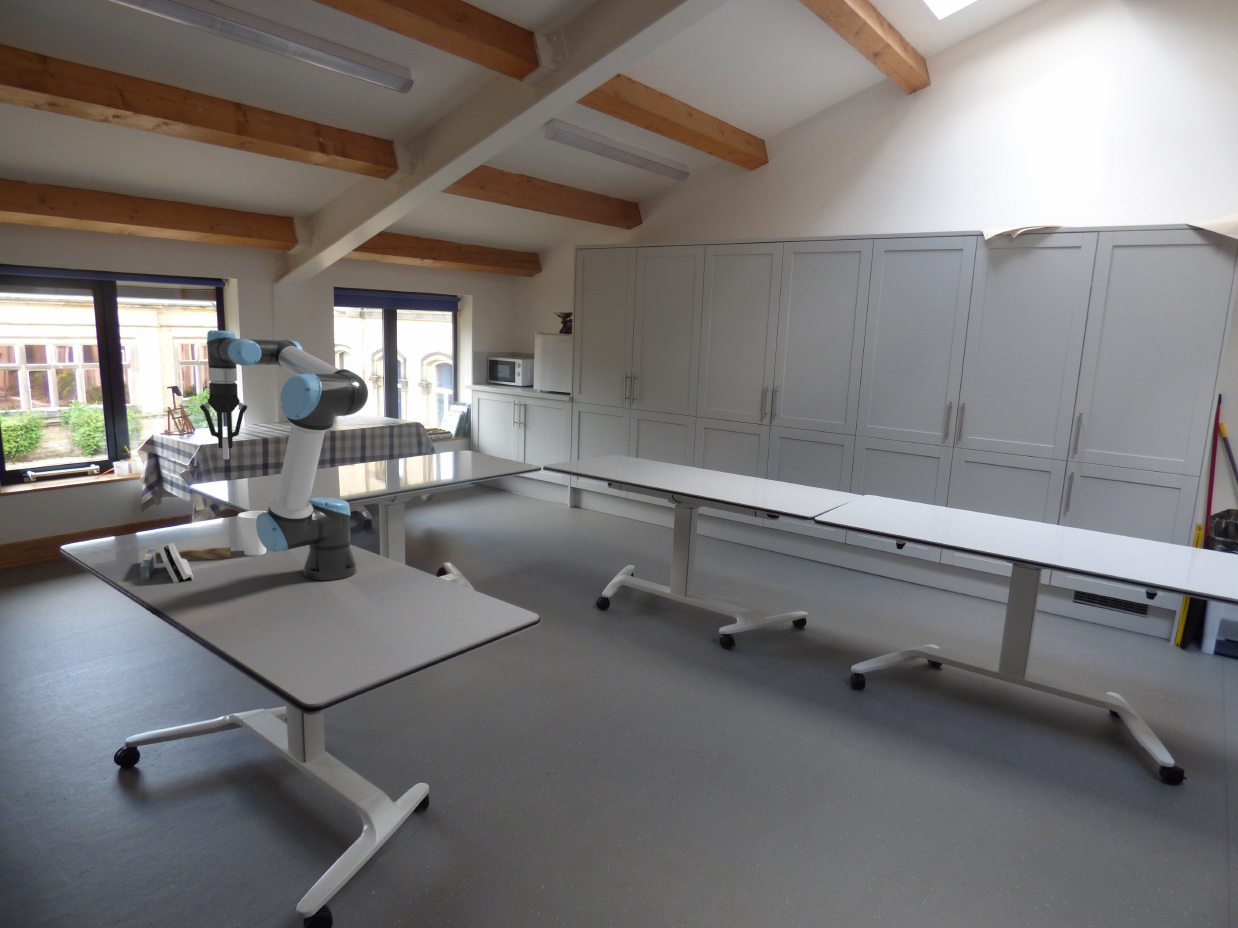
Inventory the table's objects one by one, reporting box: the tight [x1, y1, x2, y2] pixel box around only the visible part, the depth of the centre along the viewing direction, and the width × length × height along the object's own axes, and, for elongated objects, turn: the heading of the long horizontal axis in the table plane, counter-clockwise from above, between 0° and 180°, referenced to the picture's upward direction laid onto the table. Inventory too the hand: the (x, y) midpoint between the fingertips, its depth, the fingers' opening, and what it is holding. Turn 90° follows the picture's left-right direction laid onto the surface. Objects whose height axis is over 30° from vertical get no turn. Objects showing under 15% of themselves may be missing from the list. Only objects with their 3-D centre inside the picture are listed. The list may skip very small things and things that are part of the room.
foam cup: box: [237, 510, 267, 557], centre depth 233 cm, size 10×9×13 cm
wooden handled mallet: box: [139, 547, 232, 581], centre depth 217 cm, size 22×17×4 cm
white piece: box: [158, 542, 195, 584], centre depth 211 cm, size 17×5×10 cm, turn 35°
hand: (226, 458), depth 221 cm, fingers closed
